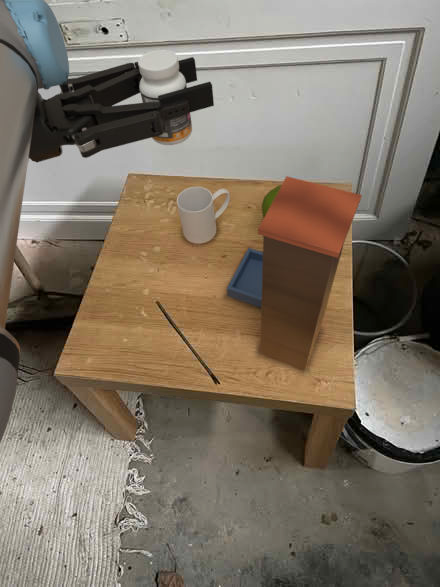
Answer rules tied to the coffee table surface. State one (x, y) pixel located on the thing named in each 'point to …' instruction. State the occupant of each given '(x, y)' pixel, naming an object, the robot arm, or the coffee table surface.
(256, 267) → the blue tray
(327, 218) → the stand
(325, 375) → the coffee table surface
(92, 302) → the coffee table surface
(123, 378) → the coffee table surface
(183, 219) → the mug
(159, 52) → the pill bottle
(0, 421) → the robot arm
